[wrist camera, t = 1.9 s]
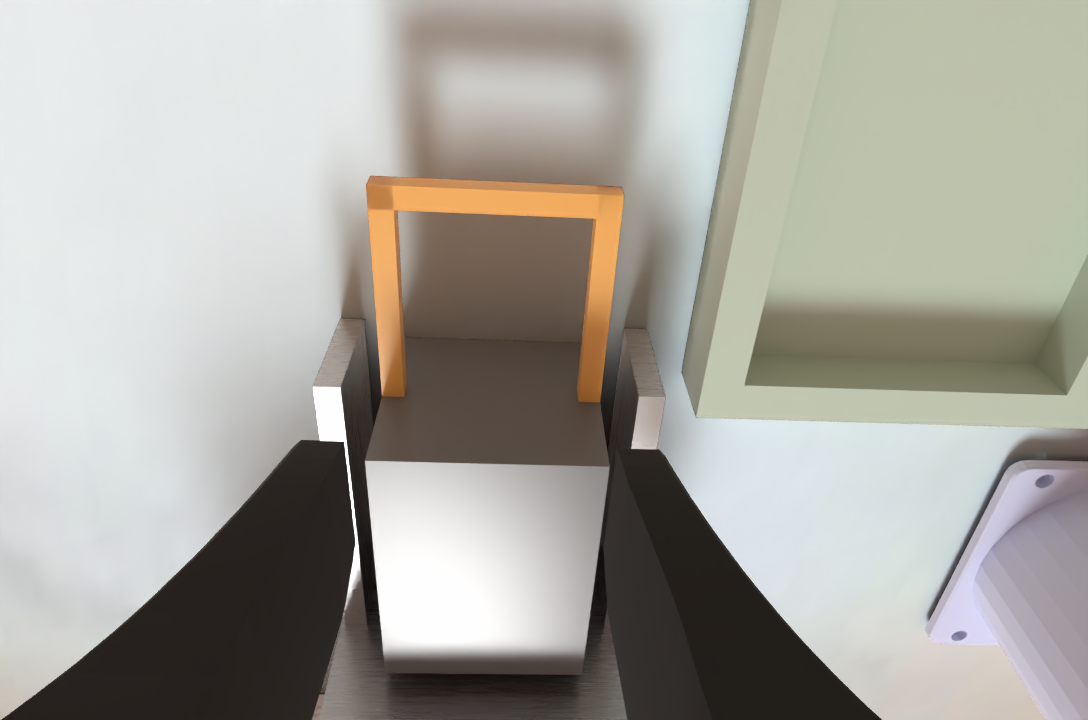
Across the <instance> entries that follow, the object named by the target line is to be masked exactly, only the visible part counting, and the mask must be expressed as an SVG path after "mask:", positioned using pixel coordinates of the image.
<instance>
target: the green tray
mask: <svg viewBox="0 0 1088 720" xmlns="http://www.w3.org/2000/svg"><path fill="white" fill-rule="evenodd" d="M682 375H683V379H684V382H685V385H686V388H687V391H688V394H689V397H690V400H691V404H692V407H693V410H694V413H695V416H696V418H724V419H759V420H794V421H829V422H864V423H899V424H934V425H970V426H1005V427H1040V428H1075V429H1088V0H750V5H749V10H748V16H747V21H746V26H745V32H744V37H743V43H742V48H741V53H740V59H739V64H738V70H737V75H736V80H735V86H734V91H733V97H732V102H731V107H730V113H729V118H728V124H727V129H726V134H725V140H724V145H723V151H722V156H721V161H720V167H719V172H718V178H717V183H716V188H715V194H714V199H713V205H712V210H711V215H710V221H709V226H708V232H707V237H706V242H705V248H704V253H703V259H702V264H701V269H700V275H699V280H698V286H697V291H696V296H695V302H694V307H693V313H692V318H691V323H690V329H689V334H688V340H687V345H686V350H685V356H684V361H683V367H682Z"/></svg>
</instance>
